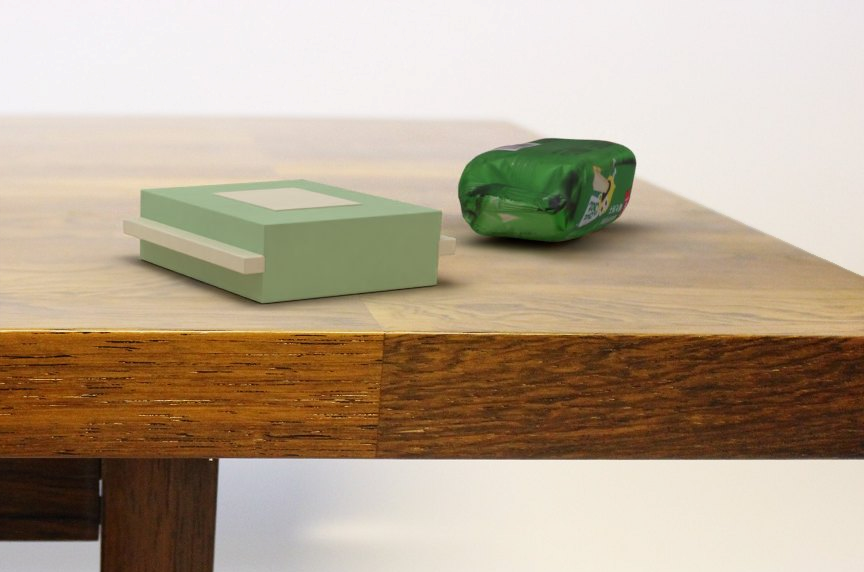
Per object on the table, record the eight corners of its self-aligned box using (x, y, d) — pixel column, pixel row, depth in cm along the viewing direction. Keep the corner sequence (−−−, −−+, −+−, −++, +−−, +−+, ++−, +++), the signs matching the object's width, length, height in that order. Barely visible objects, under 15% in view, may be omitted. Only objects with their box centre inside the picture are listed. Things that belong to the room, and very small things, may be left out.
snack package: (431, 247, 82) (439, 151, 80) (532, 211, 94) (540, 127, 92) (557, 263, 78) (569, 163, 76) (644, 223, 90) (656, 136, 89)
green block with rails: (314, 243, 82) (318, 176, 81) (453, 283, 72) (459, 207, 71) (122, 260, 77) (122, 189, 76) (242, 305, 67) (245, 224, 66)
